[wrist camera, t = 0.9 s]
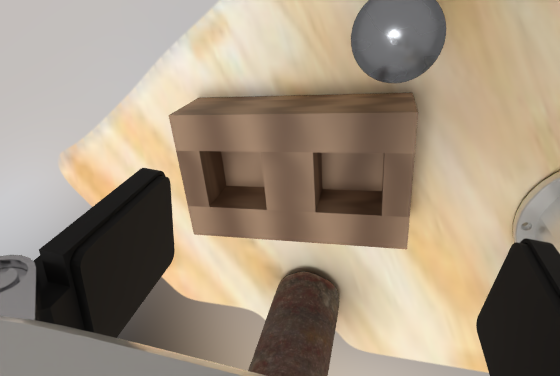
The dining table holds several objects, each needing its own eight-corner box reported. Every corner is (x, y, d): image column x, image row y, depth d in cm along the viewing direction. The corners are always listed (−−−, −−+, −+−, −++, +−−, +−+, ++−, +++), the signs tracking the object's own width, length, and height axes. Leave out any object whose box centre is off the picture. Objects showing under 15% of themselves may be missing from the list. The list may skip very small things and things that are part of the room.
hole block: (412, 92, 33) (417, 112, 28) (403, 213, 38) (406, 249, 33) (198, 98, 38) (168, 115, 33) (216, 204, 43) (194, 234, 38)
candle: (283, 256, 44) (219, 429, 27) (346, 272, 43) (322, 462, 26) (275, 304, 48) (214, 482, 31) (333, 320, 47) (304, 514, 30)
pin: (423, -16, 29) (451, -19, 17) (418, 45, 31) (440, 81, 19) (364, -11, 30) (351, -10, 18) (363, 48, 32) (350, 84, 20)
